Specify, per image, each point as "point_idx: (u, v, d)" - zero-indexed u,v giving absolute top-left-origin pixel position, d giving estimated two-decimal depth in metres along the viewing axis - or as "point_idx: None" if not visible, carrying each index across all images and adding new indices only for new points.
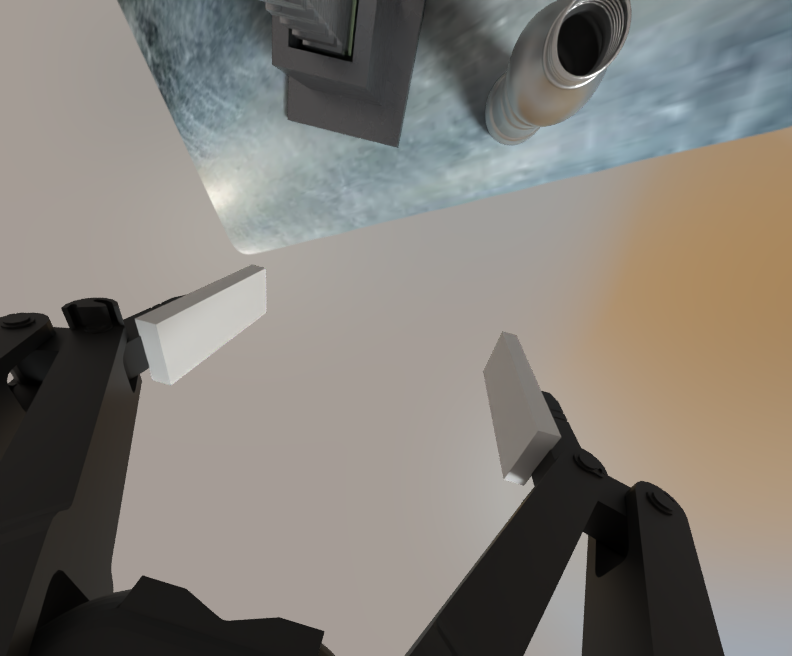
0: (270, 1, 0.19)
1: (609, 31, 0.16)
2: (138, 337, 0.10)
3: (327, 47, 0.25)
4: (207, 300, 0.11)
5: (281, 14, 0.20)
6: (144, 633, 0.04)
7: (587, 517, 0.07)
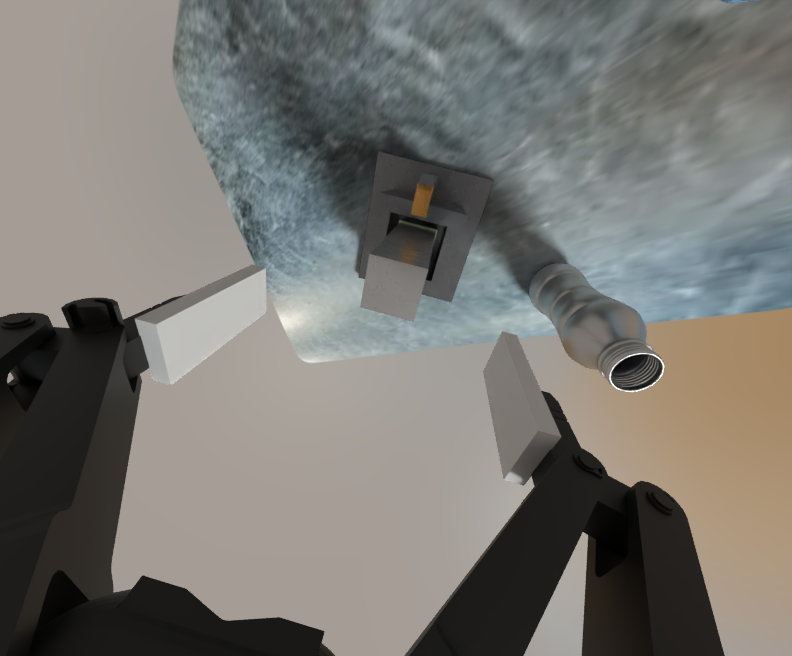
0: None
1: (647, 356, 0.22)
2: (138, 337, 0.10)
3: None
4: (207, 300, 0.11)
5: None
6: (144, 633, 0.04)
7: (587, 517, 0.07)
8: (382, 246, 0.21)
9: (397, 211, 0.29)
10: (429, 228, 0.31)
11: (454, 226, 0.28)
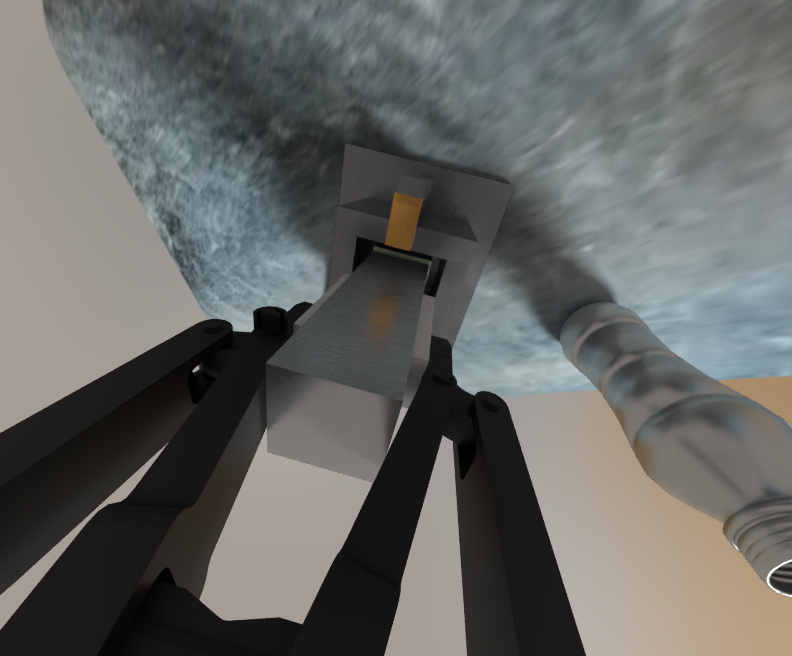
0: None
1: None
2: None
3: None
4: None
5: None
6: (144, 633, 0.04)
7: (446, 416, 0.09)
8: (314, 325, 0.10)
9: (367, 236, 0.18)
10: (419, 259, 0.20)
11: (458, 259, 0.18)
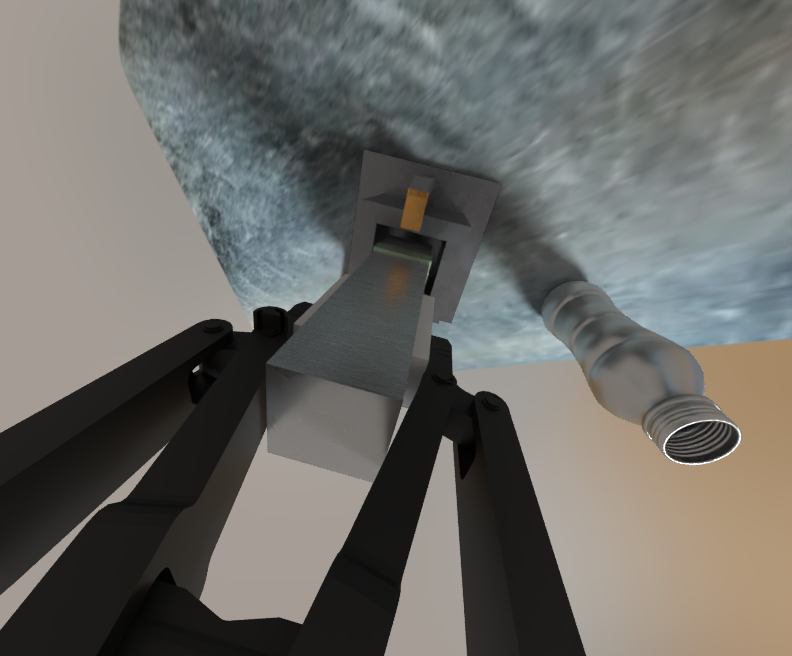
0: None
1: None
2: None
3: None
4: None
5: None
6: (144, 633, 0.04)
7: (446, 416, 0.09)
8: (314, 325, 0.10)
9: (384, 222, 0.23)
10: (419, 259, 0.20)
11: (455, 240, 0.23)
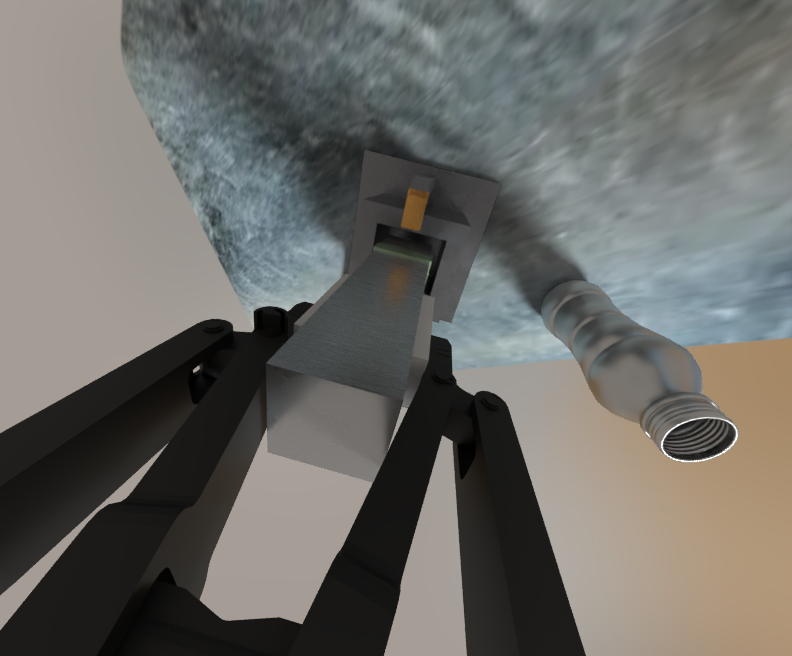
0: None
1: None
2: None
3: None
4: None
5: None
6: (144, 633, 0.04)
7: (446, 416, 0.09)
8: (314, 325, 0.10)
9: (385, 222, 0.23)
10: (419, 259, 0.20)
11: (455, 240, 0.23)
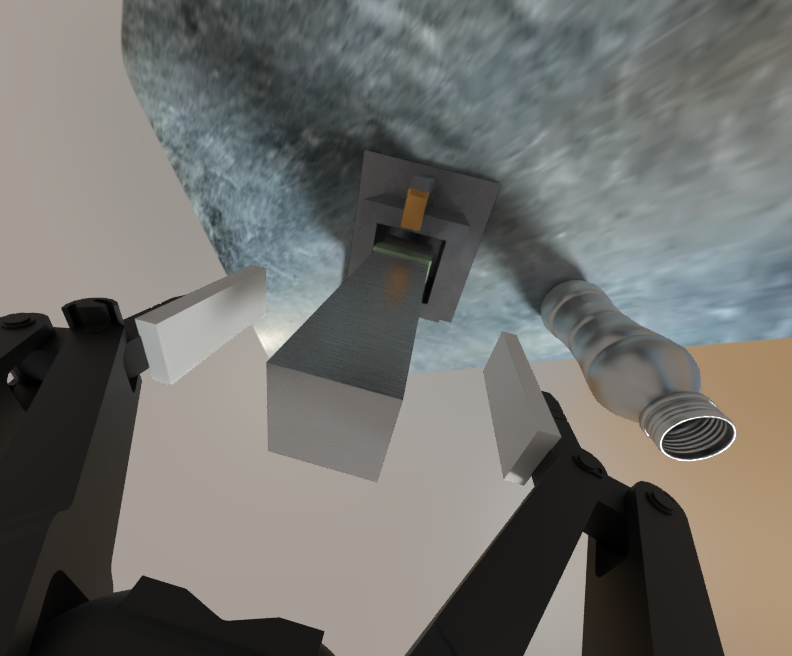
0: None
1: None
2: (138, 337, 0.10)
3: None
4: (207, 300, 0.11)
5: None
6: (144, 633, 0.04)
7: (587, 517, 0.07)
8: (315, 324, 0.10)
9: (385, 222, 0.23)
10: (419, 259, 0.20)
11: (455, 240, 0.23)
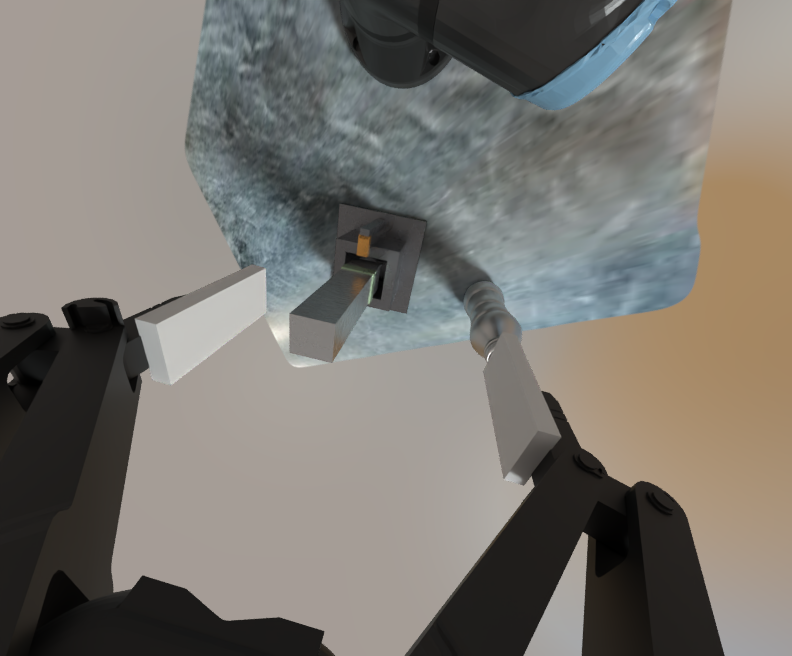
0: None
1: None
2: (138, 337, 0.10)
3: None
4: (207, 300, 0.11)
5: None
6: (144, 633, 0.04)
7: (587, 517, 0.07)
8: (306, 303, 0.26)
9: (350, 251, 0.39)
10: (367, 273, 0.36)
11: (392, 260, 0.39)
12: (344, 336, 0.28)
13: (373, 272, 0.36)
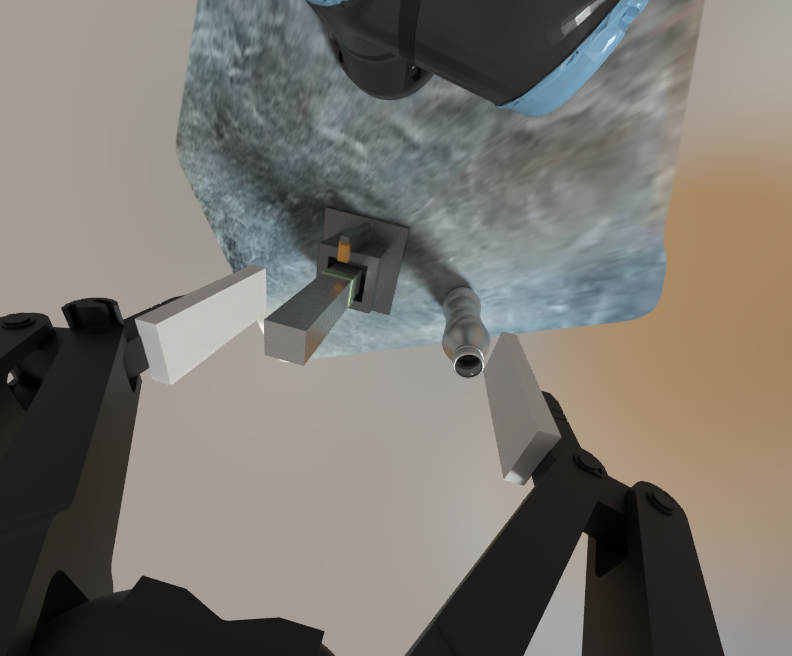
0: None
1: None
2: (138, 337, 0.10)
3: None
4: (207, 300, 0.11)
5: None
6: (144, 633, 0.04)
7: (587, 517, 0.07)
8: (282, 309, 0.28)
9: (332, 255, 0.41)
10: (346, 278, 0.38)
11: (372, 266, 0.41)
12: (318, 340, 0.30)
13: (352, 277, 0.38)
